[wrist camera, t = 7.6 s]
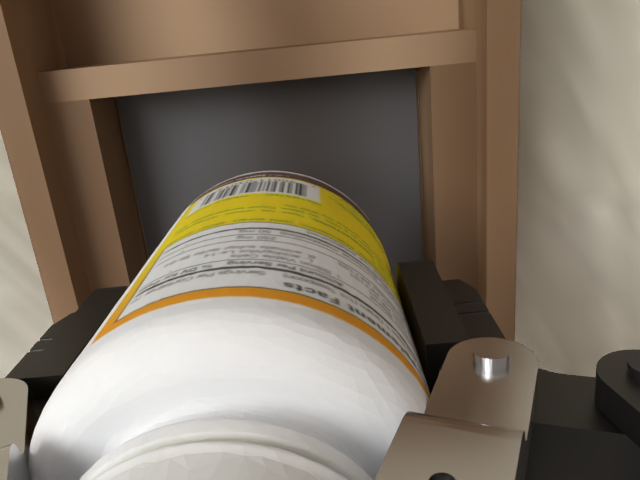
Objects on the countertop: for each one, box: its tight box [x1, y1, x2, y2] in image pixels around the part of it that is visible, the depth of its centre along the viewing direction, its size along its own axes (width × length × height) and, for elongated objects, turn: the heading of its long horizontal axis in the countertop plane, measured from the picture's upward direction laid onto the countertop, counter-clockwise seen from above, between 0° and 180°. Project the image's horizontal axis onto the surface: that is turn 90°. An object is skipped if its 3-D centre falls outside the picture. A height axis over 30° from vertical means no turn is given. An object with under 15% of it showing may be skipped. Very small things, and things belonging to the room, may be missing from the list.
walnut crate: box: [0, 0, 521, 341], centre depth 17 cm, size 13×16×4 cm
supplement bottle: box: [28, 171, 431, 480], centre depth 10 cm, size 6×6×10 cm
